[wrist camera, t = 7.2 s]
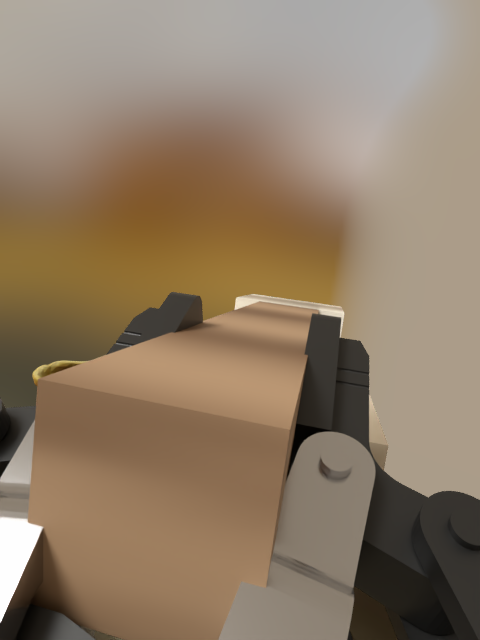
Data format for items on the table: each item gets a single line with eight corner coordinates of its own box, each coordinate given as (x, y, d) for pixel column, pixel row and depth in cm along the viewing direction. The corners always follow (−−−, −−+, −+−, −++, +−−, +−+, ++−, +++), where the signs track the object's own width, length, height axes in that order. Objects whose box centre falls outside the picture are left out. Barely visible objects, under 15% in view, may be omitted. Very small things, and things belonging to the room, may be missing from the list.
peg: (364, 715, 5) (414, 454, 4) (-62, 580, 6) (-51, 361, 5) (333, 354, 26) (341, 306, 26) (246, 340, 27) (252, 294, 27)
